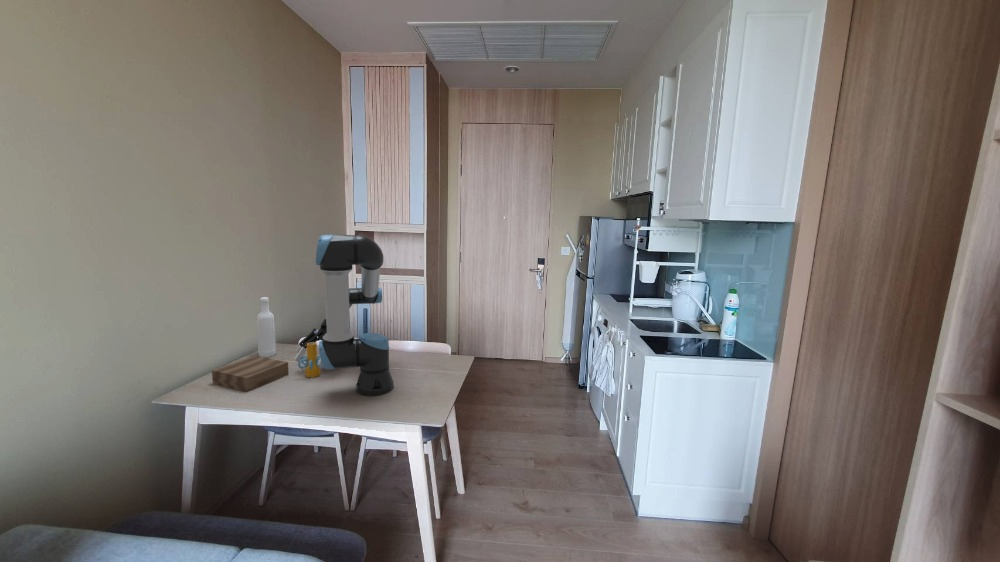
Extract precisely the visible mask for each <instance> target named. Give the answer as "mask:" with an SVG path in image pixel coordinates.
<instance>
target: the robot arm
mask: <svg viewBox="0 0 1000 562" xmlns="http://www.w3.org/2000/svg"><path fill="white" fill-rule="evenodd" d="M315 253H316V254H315V265H317V266H320V267H319V270H320V271H321V272H322V273H323V275H324V288H325V291H324V292H325V317H324V318H325V319H323V321H322V322H321V324H320V329H317V328H315V327H314V328H313V329H312V330H311V332H310V333H309V334H307V335H306V336H305V337H304V338H303V339H302V340H301V341H300V342H299V343H298V345H299V346H300V347H299V349H298V352H297V354H296V356H295V358H294V359H293V360H295V361H296V362H297V363H299V361H300V360H301V358H302V357H303V356H305V353H307V343H310V342H316V343H317V342H319V343H318V350H319V355H320V357H319V358H320V360H318V361H319V362H318V363H317V364H318V365H319V366H321V367H320V368H324V369H325V370H338V369H348V368H358V367H359V369H360V370H359V371H360V372H359V374H358V378H357V381H356V384H355V390H356V392H357V393H358V394H360V395H362V396H367V395H368V396H369V397H370V396H380V395H384V394H387V393H389V392H391V391H392V390H393V389H394V386H395V385H394V379H393V378H392V374H391V371H390V342H389V338H388V337H387V336H386V335H383V334H382V333H377V332H365V333H361V334H360V335H359V337H358V338H355V334H354V333H353V332H352V331H351V330H350V329H351V327H350V325H351V324H350V323H351V321H350V319H351V318H350V309H351V308H352V306H353V305H364V304H367V305H368V304H369V305H370V304H372V305H375V304H381V303H382V301H383V289H382V288H381V287H380V274H381V268H382V266H383V264H384V254H383V251H382V249H381V247H380V245H378V243H376V242H375V240H373V239H372V238H370V237H369V236H366V235H362V234H353V235H351V234H322V235H320V236H319V237H318V239H317V245H316V252H315ZM354 265H355V266H359V265H360V267H361V287H358V288H357V287H356V288H355V287H353V288H351V287H349V286H350V283H349V281H350V278H349V276H350V275H349V274H350V272H351V271H353V266H354Z"/></svg>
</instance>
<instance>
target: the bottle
mask: <svg viewBox="0 0 1000 562" xmlns="http://www.w3.org/2000/svg"><path fill="white" fill-rule="evenodd" d="M269 301H270V300H269V297H267V296H263V297H260V299H259V302H260V312H259V313H258V314H257V316H256V331H257V332H256V333H257V348H258V350H257V352H258V353H257V354H258V356H260V357H265V358H270V357H273V356H275V355H276V354H277V345H276V344H277V342H276V331H275V330H276V328H275V316H274V314H273V313H272V312H271V311H270V302H269Z"/></svg>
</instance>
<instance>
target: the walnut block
mask: <svg viewBox="0 0 1000 562" xmlns="http://www.w3.org/2000/svg"><path fill="white" fill-rule="evenodd" d="M289 374H290V373H289V362H288V361H284V360H279V359H275V358H270V357H260V356H259V355H253V356H251V357H248V358H247V357H246V358H245V359H242V360H239V361H235V362H232V363H229V364H225V365H223V366H221V367H218V368H214V369H212V370H211V378H212V384H213V385H217V386H221V387H225V388H229V389H233V390H236V391H241V392H246V393H248V392H250V391H253V390H255V389H258V388H261V387H262V386H265V385H267V384H270V383H272V382H275V381H277V380H280V379H282V378H285V377H287V376H289ZM284 376H285V377H284Z"/></svg>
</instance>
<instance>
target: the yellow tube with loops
mask: <svg viewBox="0 0 1000 562" xmlns="http://www.w3.org/2000/svg"><path fill="white" fill-rule="evenodd" d="M317 347H318V345H317V341H316V342H310V343H307V348H306V349H307V350H306V355H303V357H302V358H301V360H300V361H299V362H297V363H298V365H297V366H298V368H299V369H304V371H305V377H306V378H309V377H312V378H316V376H317V377H319V376H320V375H321V368H322V367H321V366H319V365H318V364H317V363H318V362H319V360H320V354H319V355H318V348H317ZM301 364H302V365H303V366H301Z"/></svg>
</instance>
